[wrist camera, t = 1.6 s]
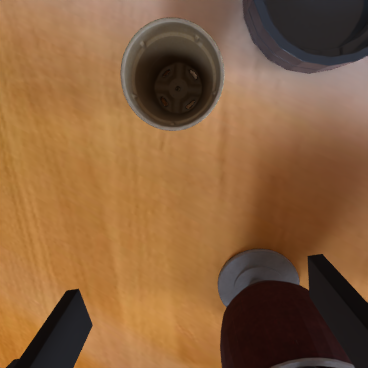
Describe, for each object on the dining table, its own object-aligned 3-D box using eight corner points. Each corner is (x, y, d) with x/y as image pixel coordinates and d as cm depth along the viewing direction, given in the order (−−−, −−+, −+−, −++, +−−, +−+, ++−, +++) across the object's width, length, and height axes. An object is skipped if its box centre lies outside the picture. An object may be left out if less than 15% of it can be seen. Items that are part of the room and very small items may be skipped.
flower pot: (129, 107, 30) (105, 102, 22) (159, 32, 28) (144, -5, 20) (194, 139, 31) (195, 147, 23) (229, 69, 29) (243, 49, 21)
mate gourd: (305, 314, 38) (420, 515, 19) (219, 324, 39) (244, 524, 20) (299, 227, 34) (438, 368, 15) (204, 241, 35) (217, 389, 16)
